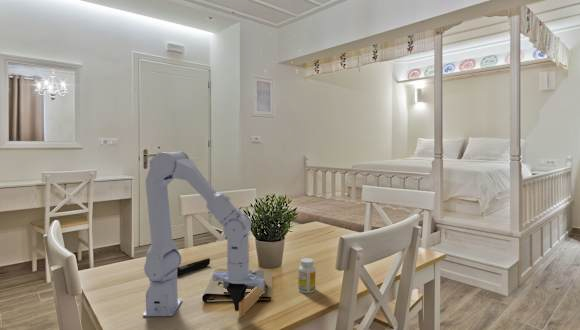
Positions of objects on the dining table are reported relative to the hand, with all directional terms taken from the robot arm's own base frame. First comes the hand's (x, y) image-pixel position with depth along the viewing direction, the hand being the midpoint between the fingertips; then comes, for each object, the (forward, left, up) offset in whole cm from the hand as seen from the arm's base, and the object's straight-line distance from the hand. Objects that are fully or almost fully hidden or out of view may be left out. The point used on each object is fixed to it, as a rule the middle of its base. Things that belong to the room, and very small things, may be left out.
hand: (238, 309), depth 93 cm
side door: (+6, -4, -1) cm, 7 cm away
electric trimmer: (+32, +22, -2) cm, 39 cm away
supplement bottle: (+15, -20, -2) cm, 25 cm away
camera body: (+17, 0, -1) cm, 17 cm away
